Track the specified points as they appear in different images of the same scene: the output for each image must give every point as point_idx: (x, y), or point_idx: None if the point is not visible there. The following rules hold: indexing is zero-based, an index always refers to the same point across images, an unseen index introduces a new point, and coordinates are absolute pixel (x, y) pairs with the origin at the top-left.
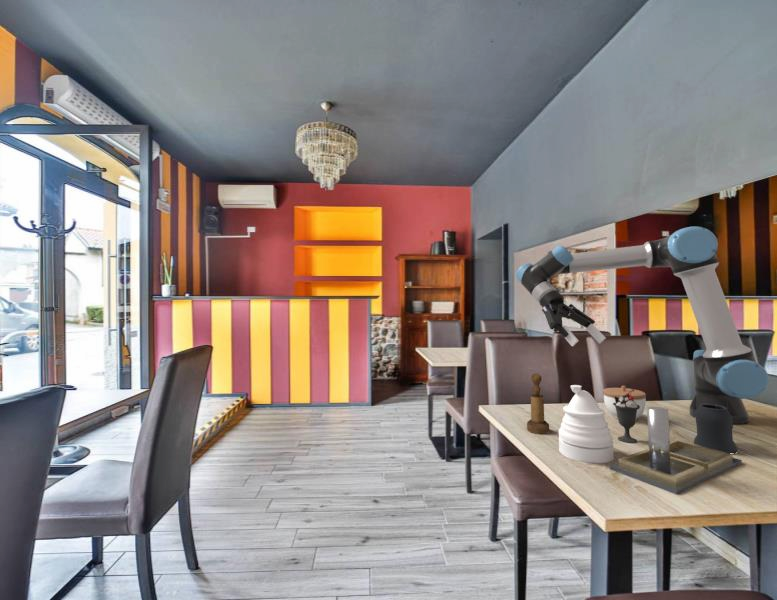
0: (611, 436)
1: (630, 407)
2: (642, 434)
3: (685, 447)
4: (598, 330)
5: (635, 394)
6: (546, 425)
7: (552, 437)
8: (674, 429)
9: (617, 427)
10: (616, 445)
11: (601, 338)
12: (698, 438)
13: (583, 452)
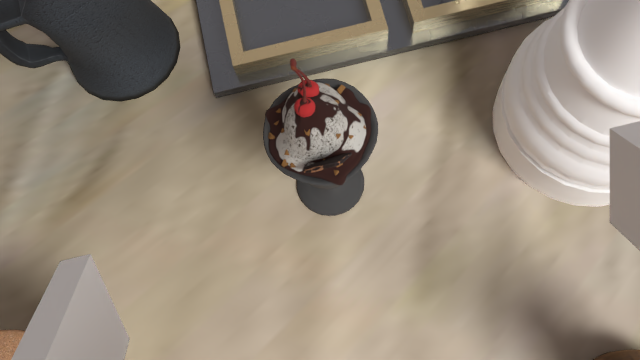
0: (539, 26)
1: (342, 86)
2: (218, 217)
3: (242, 41)
4: (18, 358)
5: (13, 350)
6: (618, 356)
7: (610, 299)
8: (44, 226)
9: (234, 321)
10: (415, 151)
11: (96, 300)
12: (156, 50)
13: None
